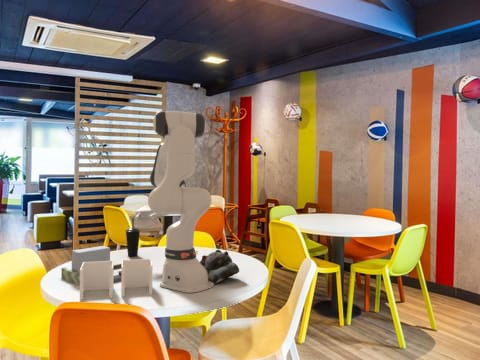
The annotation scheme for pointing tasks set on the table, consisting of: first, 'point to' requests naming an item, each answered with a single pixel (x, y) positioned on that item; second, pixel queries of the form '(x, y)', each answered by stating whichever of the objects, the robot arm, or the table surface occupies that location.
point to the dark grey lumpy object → (219, 266)
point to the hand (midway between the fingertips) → (143, 218)
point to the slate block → (89, 256)
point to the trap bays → (117, 277)
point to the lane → (77, 274)
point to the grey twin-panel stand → (103, 275)
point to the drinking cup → (132, 240)
